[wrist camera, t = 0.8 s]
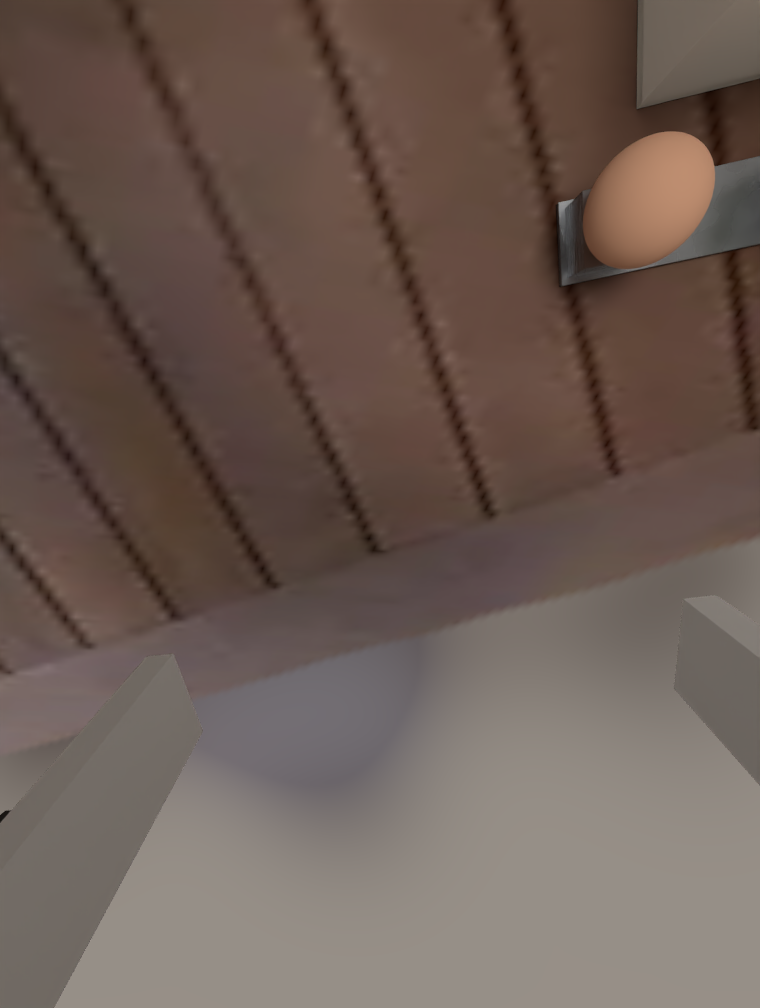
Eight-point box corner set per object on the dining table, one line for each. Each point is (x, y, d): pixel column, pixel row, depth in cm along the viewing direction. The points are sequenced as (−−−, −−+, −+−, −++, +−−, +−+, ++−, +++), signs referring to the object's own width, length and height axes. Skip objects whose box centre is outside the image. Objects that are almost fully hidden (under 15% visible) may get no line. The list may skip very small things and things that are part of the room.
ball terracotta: (563, 180, 24) (616, 119, 18) (666, 156, 23) (754, 85, 18) (567, 288, 26) (616, 264, 20) (663, 268, 25) (741, 237, 19)
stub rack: (556, 205, 26) (575, 184, 23) (864, 134, 25) (926, 102, 22) (559, 286, 28) (578, 276, 25) (850, 225, 26) (905, 207, 23)
